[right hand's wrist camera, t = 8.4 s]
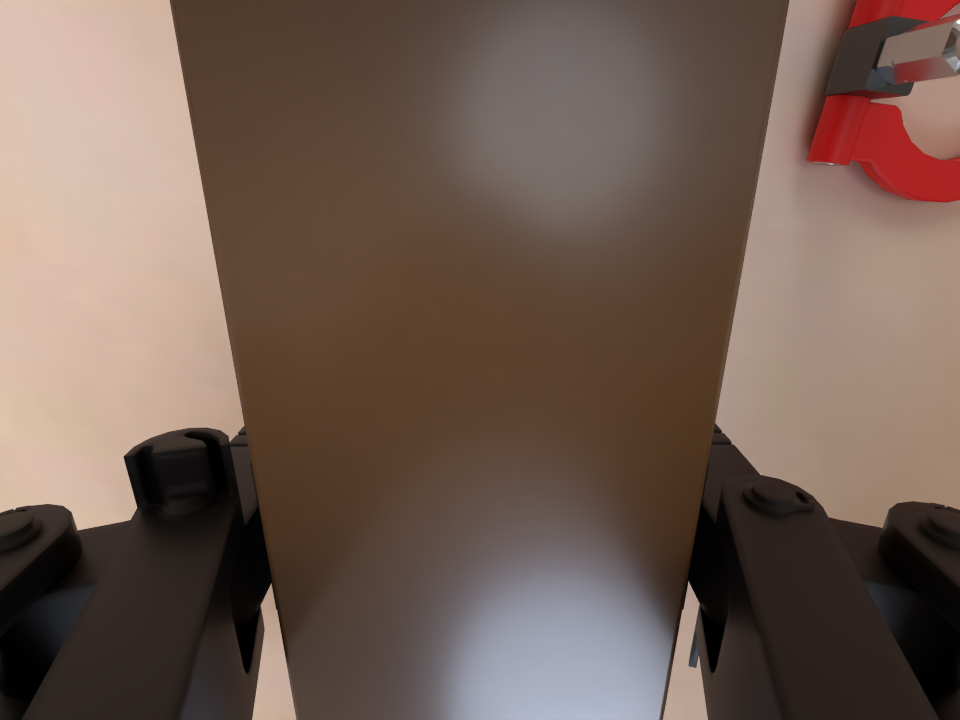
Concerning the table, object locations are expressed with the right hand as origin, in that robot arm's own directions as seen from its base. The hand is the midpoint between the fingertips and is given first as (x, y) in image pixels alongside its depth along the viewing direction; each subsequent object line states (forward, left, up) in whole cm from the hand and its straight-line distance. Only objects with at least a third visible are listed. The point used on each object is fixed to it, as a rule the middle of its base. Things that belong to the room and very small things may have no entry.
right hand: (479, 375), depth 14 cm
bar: (+7, +2, -1) cm, 7 cm away
